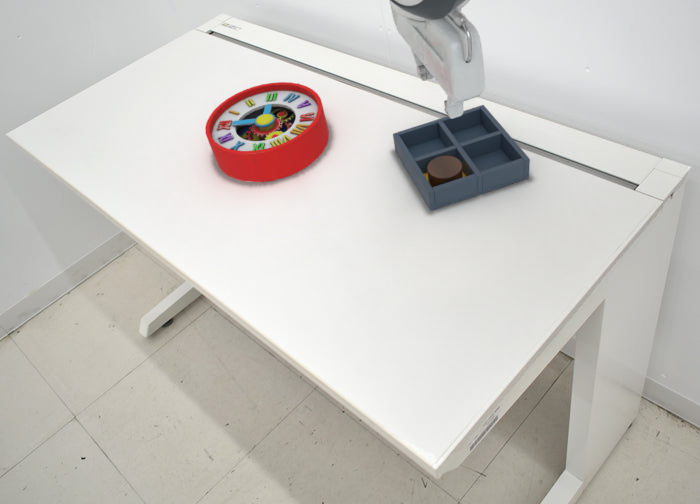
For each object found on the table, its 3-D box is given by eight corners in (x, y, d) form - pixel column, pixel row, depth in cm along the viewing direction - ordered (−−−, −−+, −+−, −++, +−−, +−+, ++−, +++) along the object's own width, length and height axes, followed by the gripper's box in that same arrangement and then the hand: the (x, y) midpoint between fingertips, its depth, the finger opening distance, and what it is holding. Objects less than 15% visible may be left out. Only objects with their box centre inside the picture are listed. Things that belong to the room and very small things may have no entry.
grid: (483, 123, 99) (483, 104, 97) (528, 178, 89) (530, 159, 86) (395, 151, 98) (392, 133, 96) (430, 211, 88) (428, 192, 85)
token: (454, 167, 92) (453, 151, 90) (468, 187, 89) (467, 171, 86) (423, 177, 92) (422, 161, 89) (436, 197, 88) (434, 182, 86)
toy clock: (315, 147, 93) (192, 159, 96) (323, 176, 97) (205, 187, 100) (327, 76, 106) (219, 88, 109) (333, 104, 110) (229, 115, 114)
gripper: (500, 14, 58) (500, 131, 68) (424, -54, 73) (433, 52, 83) (438, 33, 58) (447, 148, 68) (375, -39, 72) (390, 65, 82)
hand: (439, 95), depth 75 cm, fingers open, 8 cm apart
